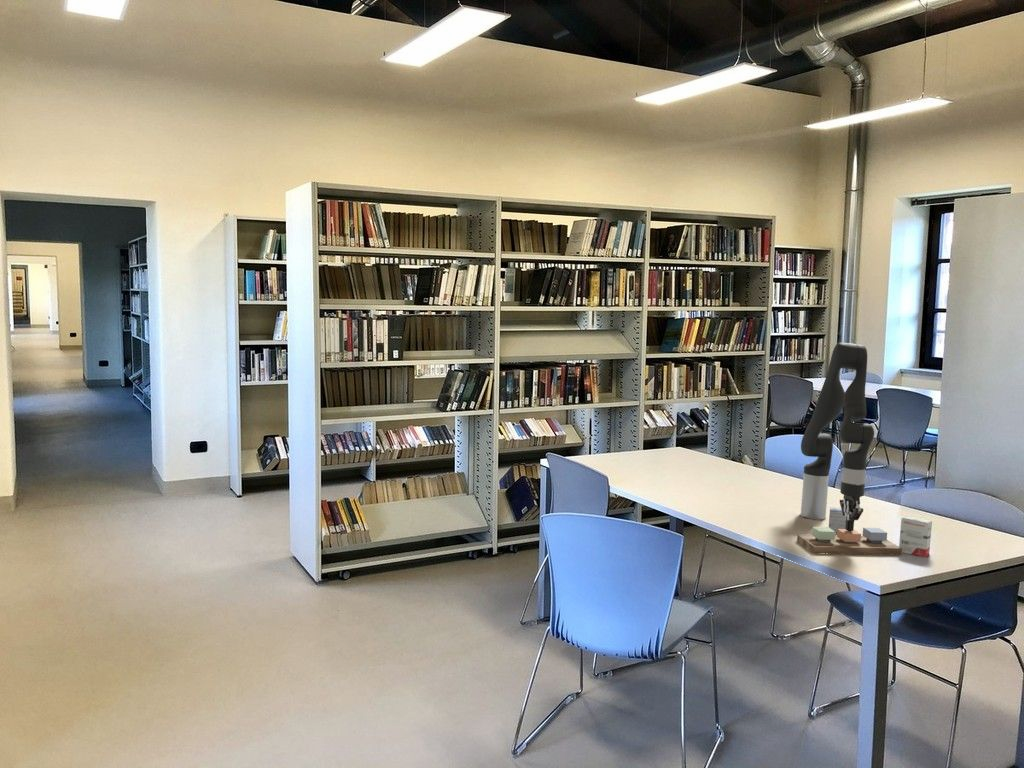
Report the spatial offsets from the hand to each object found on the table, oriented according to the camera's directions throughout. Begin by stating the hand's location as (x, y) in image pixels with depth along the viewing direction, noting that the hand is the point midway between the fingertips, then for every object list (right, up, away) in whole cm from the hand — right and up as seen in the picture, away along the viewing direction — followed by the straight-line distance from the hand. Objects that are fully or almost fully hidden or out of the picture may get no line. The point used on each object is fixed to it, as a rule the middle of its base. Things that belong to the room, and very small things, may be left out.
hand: (849, 530), depth 270 cm
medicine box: (+5, -5, +20) cm, 21 cm away
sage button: (-9, -2, 0) cm, 9 cm away
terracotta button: (0, -3, 0) cm, 3 cm away
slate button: (+9, -3, +1) cm, 9 cm away
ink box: (+21, -7, -2) cm, 22 cm away
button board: (0, -6, +1) cm, 6 cm away
